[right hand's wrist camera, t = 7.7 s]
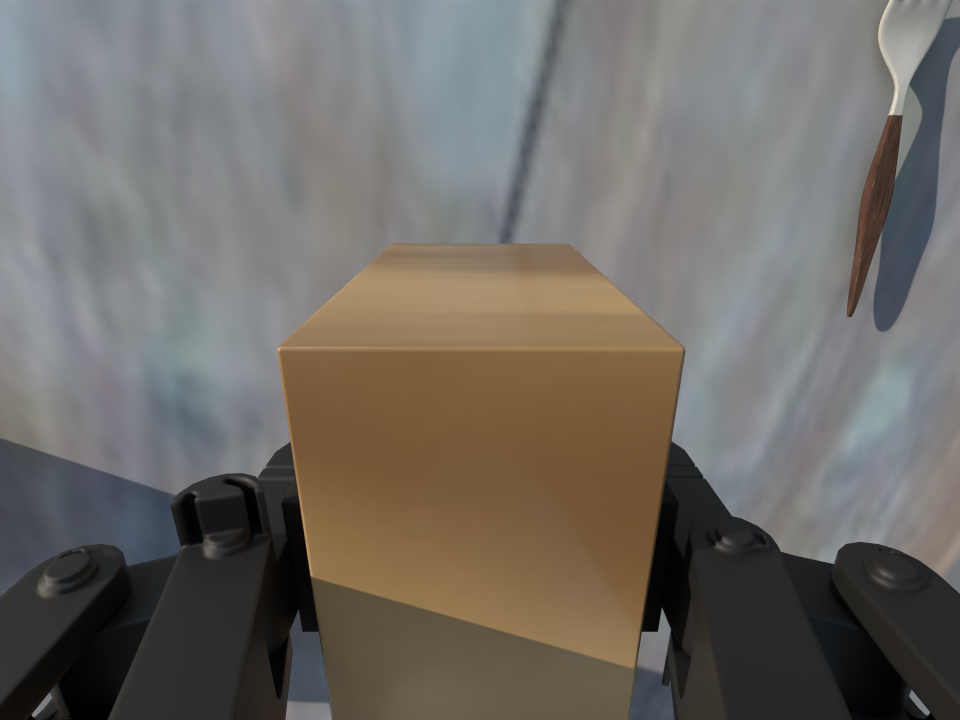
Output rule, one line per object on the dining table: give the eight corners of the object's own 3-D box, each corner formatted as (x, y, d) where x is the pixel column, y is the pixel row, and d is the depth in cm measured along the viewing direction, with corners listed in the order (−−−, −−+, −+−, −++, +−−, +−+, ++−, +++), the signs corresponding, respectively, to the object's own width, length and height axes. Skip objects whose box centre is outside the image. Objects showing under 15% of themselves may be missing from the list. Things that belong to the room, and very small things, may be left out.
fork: (816, 314, 26) (842, 326, 24) (897, -73, 20) (940, -98, 18) (868, 313, 26) (898, 324, 24) (964, -76, 20) (1013, -100, 18)
